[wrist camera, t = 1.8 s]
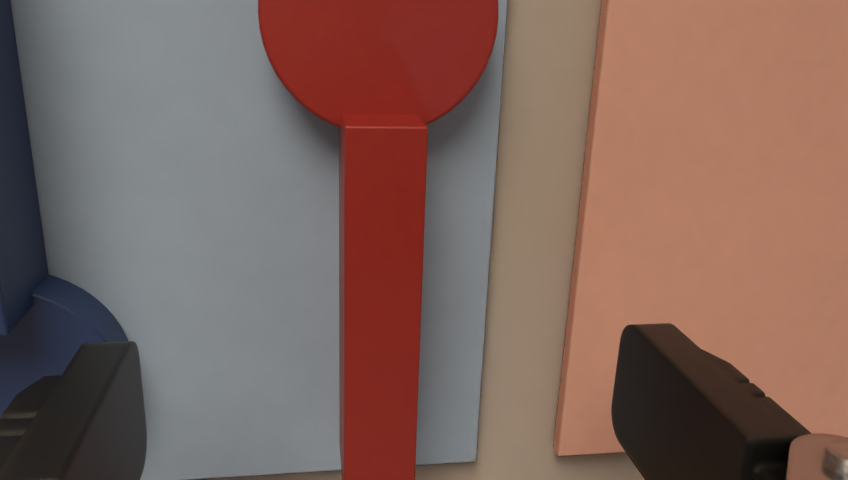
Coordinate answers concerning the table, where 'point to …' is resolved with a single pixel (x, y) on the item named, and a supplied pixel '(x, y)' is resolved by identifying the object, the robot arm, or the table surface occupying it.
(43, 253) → the blue spoon
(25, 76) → the blue mat
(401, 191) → the red spoon
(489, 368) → the table surface
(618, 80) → the red mat
